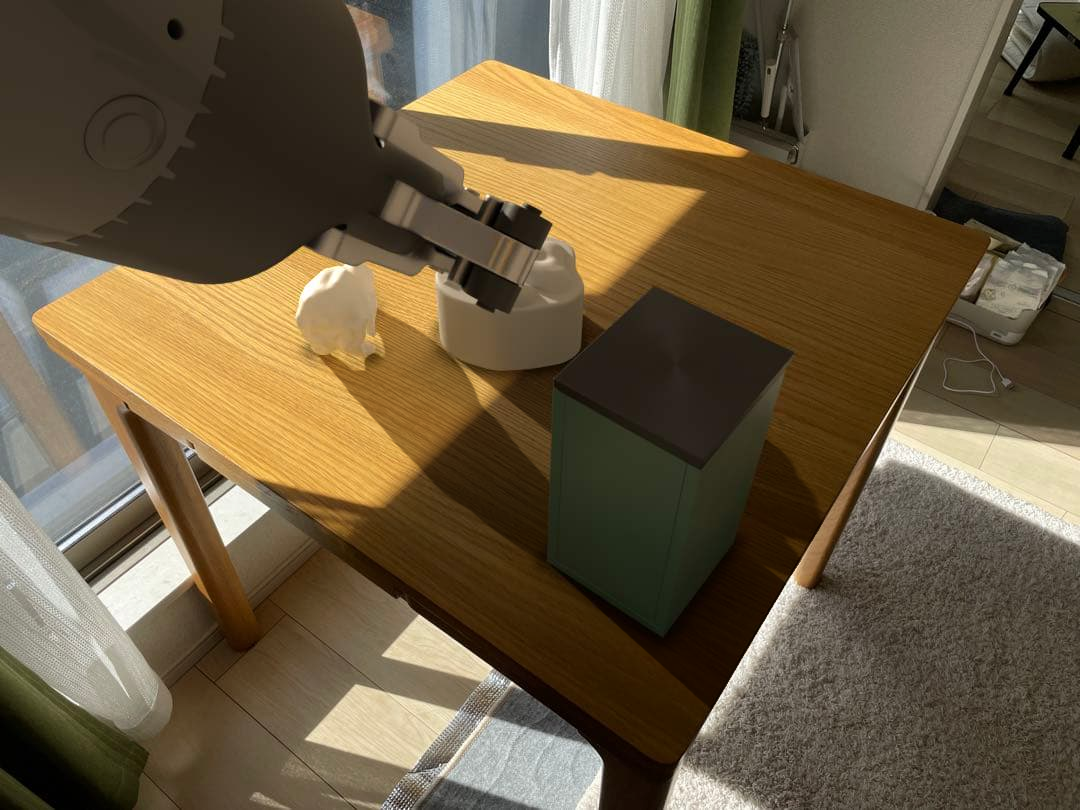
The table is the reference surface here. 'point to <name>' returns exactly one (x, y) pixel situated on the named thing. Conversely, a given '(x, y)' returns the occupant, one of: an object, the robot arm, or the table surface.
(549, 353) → the lumpy-topped squat cylinder
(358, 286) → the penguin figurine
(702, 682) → the table surface
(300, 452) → the table surface
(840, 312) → the table surface
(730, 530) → the green box
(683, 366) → the box lid
